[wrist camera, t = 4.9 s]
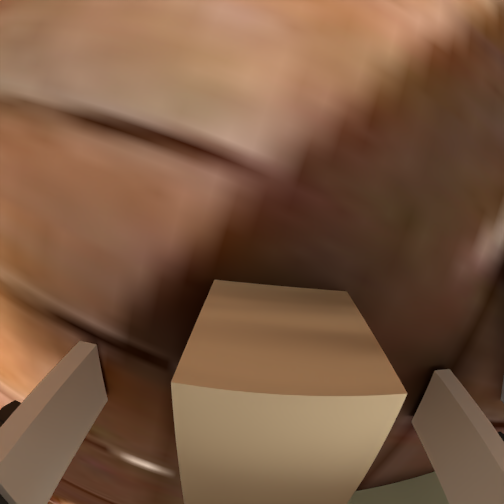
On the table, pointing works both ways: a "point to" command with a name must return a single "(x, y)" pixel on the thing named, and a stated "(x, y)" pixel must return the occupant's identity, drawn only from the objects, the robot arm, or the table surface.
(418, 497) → the sage brick
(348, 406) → the maple brick
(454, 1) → the table surface
